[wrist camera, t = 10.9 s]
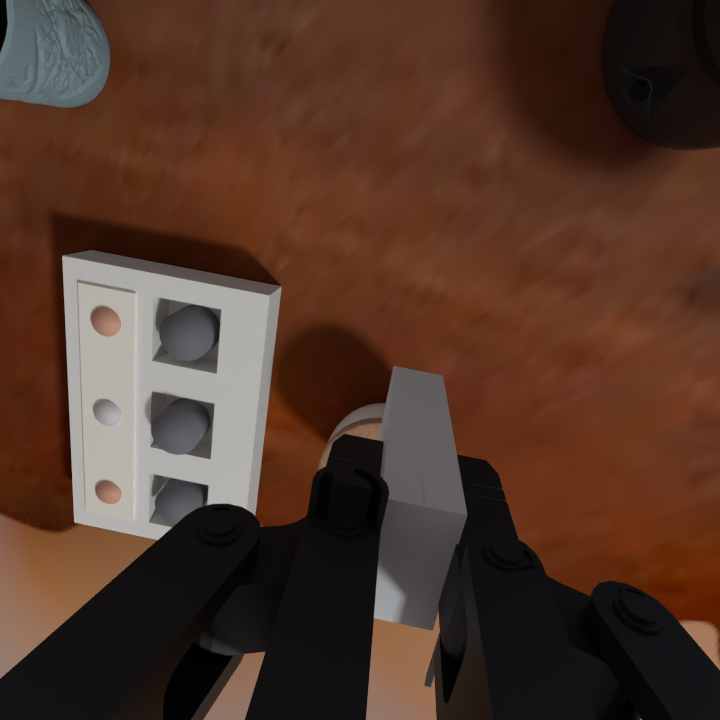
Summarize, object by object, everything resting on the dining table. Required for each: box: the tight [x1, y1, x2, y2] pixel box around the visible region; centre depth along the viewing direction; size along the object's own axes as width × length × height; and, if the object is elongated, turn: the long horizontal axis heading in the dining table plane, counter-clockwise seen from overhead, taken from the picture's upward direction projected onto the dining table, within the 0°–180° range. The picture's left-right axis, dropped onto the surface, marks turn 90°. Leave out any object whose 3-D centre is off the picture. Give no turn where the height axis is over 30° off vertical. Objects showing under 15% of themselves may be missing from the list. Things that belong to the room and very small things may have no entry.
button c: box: [155, 478, 209, 525], centre depth 50 cm, size 4×4×3 cm
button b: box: [151, 398, 210, 455], centre depth 45 cm, size 4×4×3 cm
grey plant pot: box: [0, 0, 110, 108], centre depth 34 cm, size 10×10×12 cm
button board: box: [62, 250, 282, 540], centre depth 47 cm, size 18×28×4 cm, turn 170°
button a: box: [159, 305, 220, 361], centre depth 43 cm, size 4×4×3 cm
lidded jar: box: [318, 403, 386, 470], centre depth 44 cm, size 11×11×9 cm
